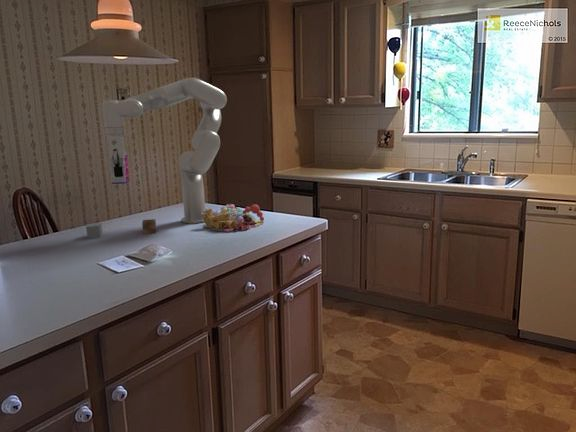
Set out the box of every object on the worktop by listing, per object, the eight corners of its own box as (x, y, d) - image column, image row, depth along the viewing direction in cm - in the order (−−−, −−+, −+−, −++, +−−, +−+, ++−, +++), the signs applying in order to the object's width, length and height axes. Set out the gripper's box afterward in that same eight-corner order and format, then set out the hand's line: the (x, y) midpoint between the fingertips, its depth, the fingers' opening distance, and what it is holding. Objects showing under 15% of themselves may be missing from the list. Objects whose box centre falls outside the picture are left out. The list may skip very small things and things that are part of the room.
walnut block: (156, 230, 208) (155, 219, 207) (155, 233, 203) (154, 221, 202) (144, 231, 207) (143, 220, 206) (143, 234, 202) (142, 222, 201)
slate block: (102, 234, 204) (101, 223, 203) (100, 237, 199) (99, 225, 198) (90, 235, 203) (88, 223, 202) (87, 238, 198) (86, 226, 197)
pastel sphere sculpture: (236, 235, 196) (235, 213, 194) (193, 229, 208) (191, 208, 206) (271, 222, 217) (270, 201, 214) (229, 217, 229) (228, 197, 227)
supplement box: (125, 183, 198) (122, 155, 196) (111, 184, 198) (107, 156, 196) (130, 181, 204) (127, 154, 201) (116, 181, 204) (113, 154, 201)
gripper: (121, 132, 189) (126, 177, 193) (127, 130, 205) (132, 172, 209) (101, 133, 187) (107, 179, 192) (108, 130, 204) (114, 173, 208)
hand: (120, 175), depth 200 cm, fingers closed on supplement box, 6 cm apart
